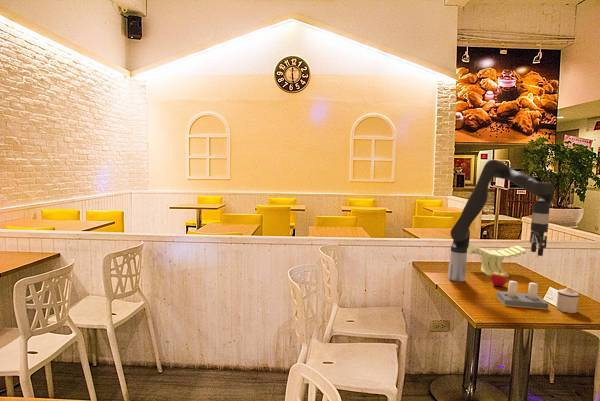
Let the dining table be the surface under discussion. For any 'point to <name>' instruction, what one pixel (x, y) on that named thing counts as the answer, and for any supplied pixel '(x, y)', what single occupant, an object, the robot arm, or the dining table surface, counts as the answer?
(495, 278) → the apple
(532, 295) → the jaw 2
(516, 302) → the housing
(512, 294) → the jaw
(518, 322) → the dining table surface
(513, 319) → the dining table surface
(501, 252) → the slatted curved stool
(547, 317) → the dining table surface
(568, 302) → the teacup with lid
